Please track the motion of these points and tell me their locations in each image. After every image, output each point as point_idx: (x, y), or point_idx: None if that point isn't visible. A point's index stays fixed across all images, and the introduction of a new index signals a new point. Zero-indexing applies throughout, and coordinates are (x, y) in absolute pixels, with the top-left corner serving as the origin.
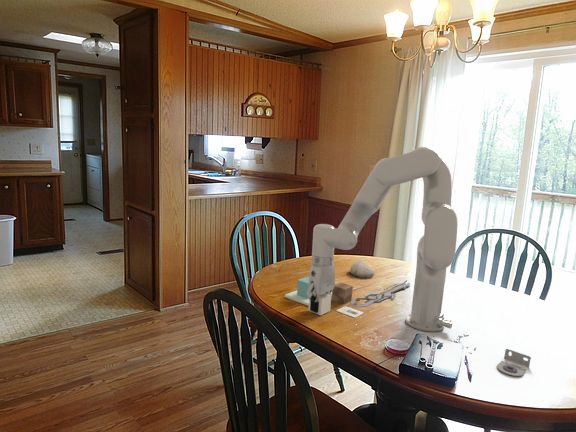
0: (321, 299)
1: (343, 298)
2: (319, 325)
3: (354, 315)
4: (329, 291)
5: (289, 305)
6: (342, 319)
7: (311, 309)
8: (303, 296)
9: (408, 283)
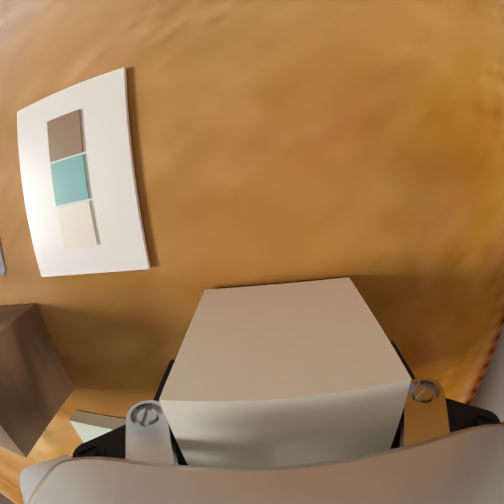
0: (406, 377)
1: (13, 331)
2: (479, 162)
3: (98, 98)
4: (138, 456)
5: None
6: (242, 100)
7: None
8: None
9: None
